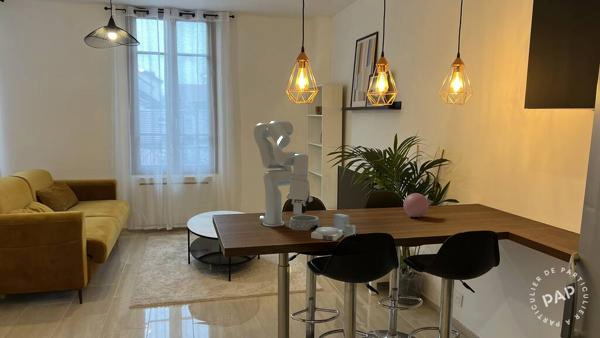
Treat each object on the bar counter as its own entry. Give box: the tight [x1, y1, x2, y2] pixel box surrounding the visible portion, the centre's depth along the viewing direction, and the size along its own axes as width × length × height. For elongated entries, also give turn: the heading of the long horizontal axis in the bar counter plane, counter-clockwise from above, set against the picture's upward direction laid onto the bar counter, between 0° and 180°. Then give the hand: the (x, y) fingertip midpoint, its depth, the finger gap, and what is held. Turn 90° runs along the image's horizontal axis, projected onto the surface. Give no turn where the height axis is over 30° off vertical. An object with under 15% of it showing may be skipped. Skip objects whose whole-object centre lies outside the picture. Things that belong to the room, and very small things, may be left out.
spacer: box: [343, 223, 356, 238], centre depth 220 cm, size 4×4×6 cm
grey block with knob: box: [292, 200, 305, 216], centre depth 219 cm, size 4×4×6 cm
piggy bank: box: [402, 192, 434, 218], centre depth 269 cm, size 15×20×15 cm
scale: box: [310, 226, 344, 242], centre depth 220 cm, size 13×14×4 cm
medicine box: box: [333, 213, 350, 233], centre depth 233 cm, size 8×4×9 cm, turn 43°
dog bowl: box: [288, 214, 321, 231], centre depth 242 cm, size 17×18×5 cm
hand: (299, 211), depth 219 cm, fingers closed on grey block with knob, 4 cm apart
